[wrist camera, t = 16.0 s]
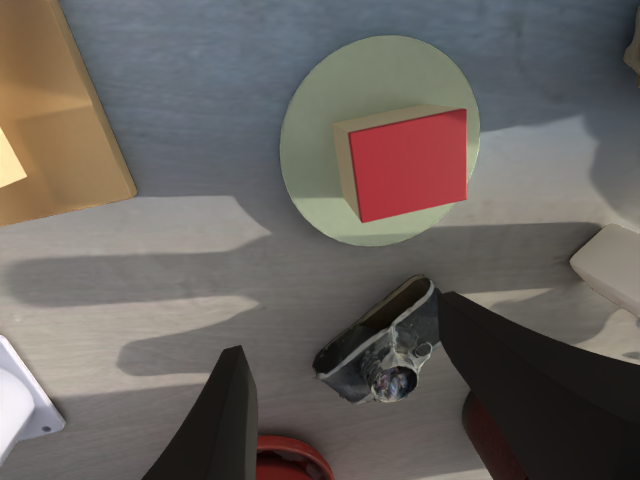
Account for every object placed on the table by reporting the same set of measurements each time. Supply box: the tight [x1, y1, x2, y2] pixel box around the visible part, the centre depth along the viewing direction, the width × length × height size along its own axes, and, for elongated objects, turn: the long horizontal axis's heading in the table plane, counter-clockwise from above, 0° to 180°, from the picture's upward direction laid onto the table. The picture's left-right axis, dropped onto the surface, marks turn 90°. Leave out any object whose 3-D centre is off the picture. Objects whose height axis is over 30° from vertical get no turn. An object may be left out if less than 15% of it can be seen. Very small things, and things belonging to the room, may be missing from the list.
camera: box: [312, 274, 442, 405], centre depth 23 cm, size 5×10×4 cm, turn 130°
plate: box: [279, 35, 480, 247], centre depth 19 cm, size 11×11×1 cm
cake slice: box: [332, 104, 467, 223], centre depth 17 cm, size 5×4×4 cm
